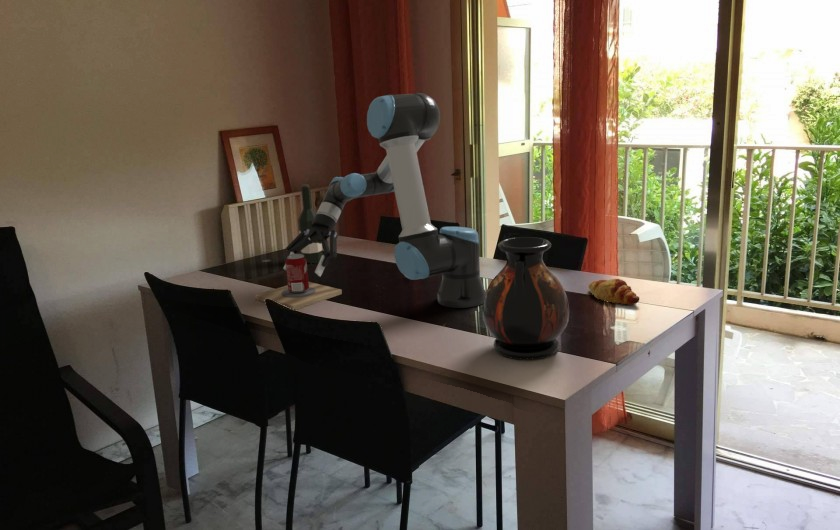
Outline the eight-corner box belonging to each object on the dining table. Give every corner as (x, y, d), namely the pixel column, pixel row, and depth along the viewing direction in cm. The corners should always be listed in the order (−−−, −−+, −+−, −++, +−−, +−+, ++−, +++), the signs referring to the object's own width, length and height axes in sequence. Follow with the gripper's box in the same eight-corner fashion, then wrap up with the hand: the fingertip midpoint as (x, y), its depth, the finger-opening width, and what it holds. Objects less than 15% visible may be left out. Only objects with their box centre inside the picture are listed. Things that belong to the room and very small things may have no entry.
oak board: (341, 293, 241) (341, 288, 240) (293, 310, 227) (293, 304, 226) (303, 284, 254) (303, 279, 254) (255, 299, 240) (255, 294, 239)
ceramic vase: (492, 332, 199) (489, 231, 191) (573, 336, 192) (573, 232, 185) (475, 363, 179) (471, 252, 172) (564, 368, 173) (564, 254, 165)
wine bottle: (321, 263, 281) (314, 186, 274) (300, 264, 282) (292, 187, 274) (324, 257, 289) (317, 182, 282) (303, 258, 290) (296, 183, 282)
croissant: (582, 302, 230) (573, 283, 226) (604, 283, 233) (595, 263, 229) (631, 319, 212) (621, 298, 208) (654, 298, 214) (645, 277, 211)
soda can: (305, 294, 236) (301, 258, 233) (285, 294, 238) (281, 258, 235) (312, 288, 243) (308, 253, 239) (293, 288, 244) (289, 253, 241)
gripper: (361, 227, 245) (337, 281, 237) (304, 222, 258) (279, 274, 250) (350, 214, 240) (325, 270, 231) (292, 210, 253) (267, 263, 245)
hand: (301, 272), depth 241 cm, fingers open, 13 cm apart
